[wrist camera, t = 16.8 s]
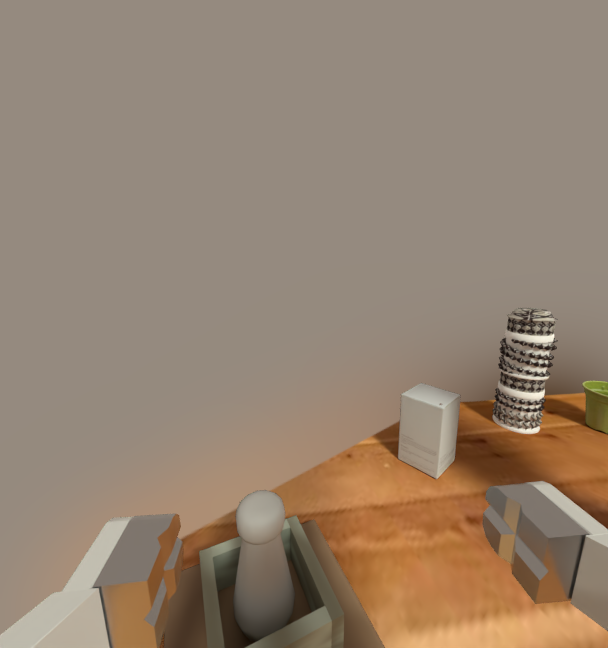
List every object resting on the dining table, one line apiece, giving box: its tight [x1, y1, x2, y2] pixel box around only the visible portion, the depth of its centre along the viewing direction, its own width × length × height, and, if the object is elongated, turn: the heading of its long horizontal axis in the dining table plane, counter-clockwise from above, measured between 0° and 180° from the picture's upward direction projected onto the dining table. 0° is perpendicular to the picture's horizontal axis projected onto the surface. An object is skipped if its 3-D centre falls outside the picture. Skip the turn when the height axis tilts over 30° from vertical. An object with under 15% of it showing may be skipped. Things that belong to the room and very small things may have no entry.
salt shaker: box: [233, 490, 295, 641], centre depth 27 cm, size 6×6×13 cm
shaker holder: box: [164, 515, 385, 648], centre depth 28 cm, size 18×16×6 cm
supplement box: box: [398, 383, 461, 479], centre depth 51 cm, size 7×7×13 cm
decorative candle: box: [492, 308, 557, 434], centre depth 61 cm, size 9×9×25 cm
